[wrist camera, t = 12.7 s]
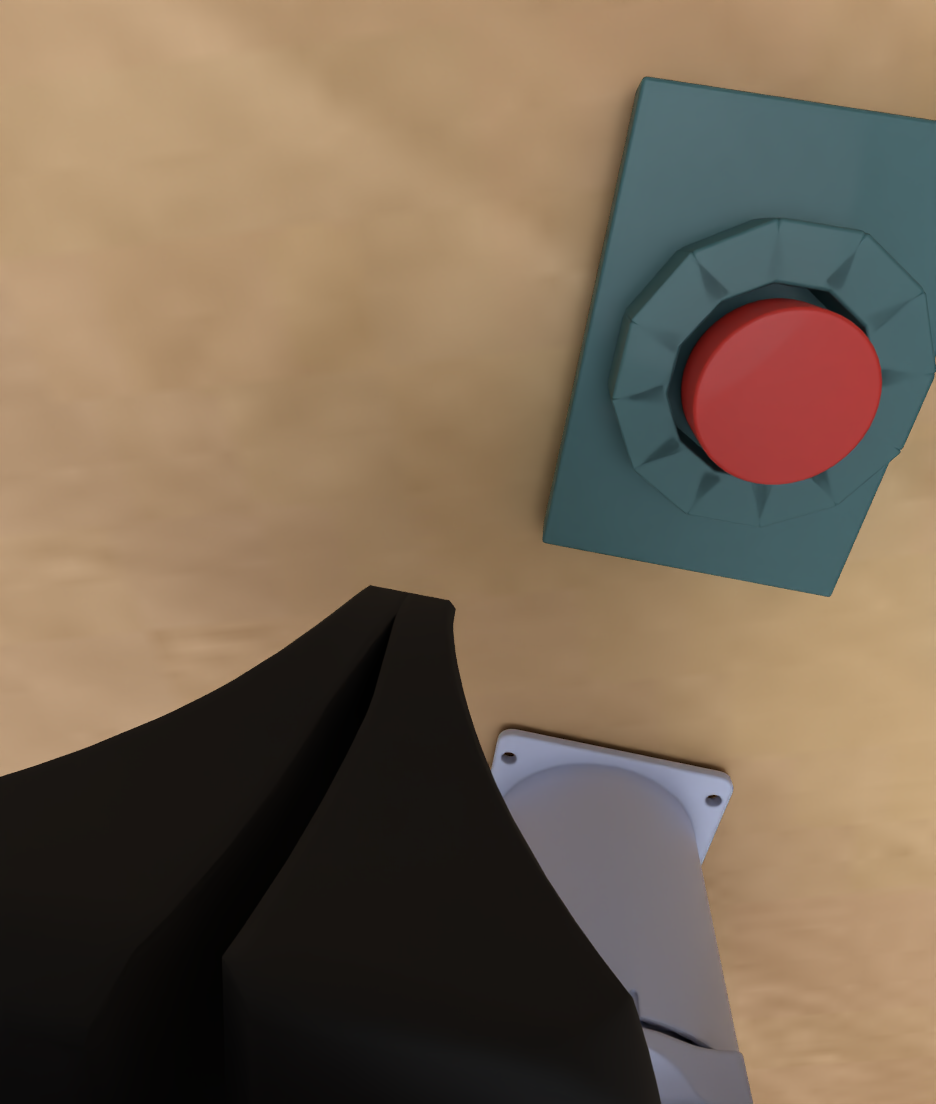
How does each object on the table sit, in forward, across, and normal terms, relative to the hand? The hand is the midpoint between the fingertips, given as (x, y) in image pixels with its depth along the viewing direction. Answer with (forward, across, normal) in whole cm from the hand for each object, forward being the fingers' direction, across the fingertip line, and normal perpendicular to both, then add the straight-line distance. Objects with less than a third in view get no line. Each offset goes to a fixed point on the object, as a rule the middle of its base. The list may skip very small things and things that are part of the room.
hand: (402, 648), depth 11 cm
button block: (+10, -6, -3) cm, 13 cm away
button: (+8, -6, -3) cm, 10 cm away
